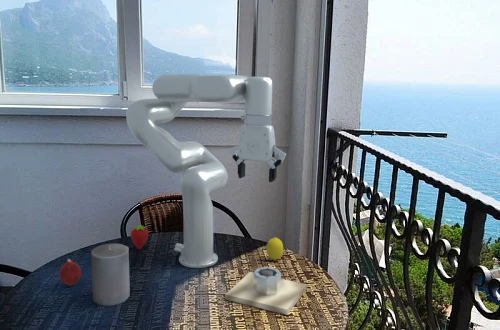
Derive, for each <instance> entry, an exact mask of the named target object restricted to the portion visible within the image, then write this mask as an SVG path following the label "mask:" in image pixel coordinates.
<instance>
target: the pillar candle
mask: <svg viewBox="0 0 500 330" xmlns="http://www.w3.org/2000/svg"><path fill="white" fill-rule="evenodd" d="M129 248H130V247H128V246H126V245H124V244H121V243H106V244H101V245H97V246H96V247H94V248H92V250H91V252H90V253H91V254H90V255H91V281H92V283H91V284H92V301H93V302H94V303H95V304H97V305H98V306H99V305H100V306H105V307H107V306H108V307H109V306H115V305H116V306H117V305H120V304H123V303H125V302H126V300H127V299H129V297H130V295H131V292H130V291H131V288H130V287H131V286H130V263H129V262H130V259H129V257H130V256H129V255H130V253H129V251H130V250H129Z"/></svg>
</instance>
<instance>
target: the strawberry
mask: <svg viewBox="0 0 500 330" xmlns="http://www.w3.org/2000/svg"><path fill="white" fill-rule="evenodd" d="M148 237H149V232H148V227H147V226H144V225H140V224H138V225H136V226H133V227H132V230H131V231H130V238H131V242H132V243H133V244H134V246H135V247H136V248H137V249H138V250H141V249H142V248H143V247H144V245H145V244H146V242H147V240H148Z"/></svg>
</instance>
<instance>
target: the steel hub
mask: <svg viewBox="0 0 500 330" xmlns="http://www.w3.org/2000/svg"><path fill="white" fill-rule="evenodd" d="M265 270H270V271H272V272H273V276H269V277H266V276H262V272H263V271H265ZM253 273H254V285H253V289H254V290H255V291H256V293H258V294H262V295H266V296H268V295H274V294H277V293H278V292H279V291H280V290H281V279H282V272H281V271H280V270H279V269H277V268H275V267H270V266H264V267H258V268H256V269H255V270H254V271H253Z"/></svg>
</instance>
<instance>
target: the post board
mask: <svg viewBox="0 0 500 330" xmlns="http://www.w3.org/2000/svg"><path fill="white" fill-rule="evenodd" d="M262 276H266V277H269V276H273V272H272V271H270V270H265V271H263V272H262ZM253 285H254V271H253V272H251V271H249V272H247V274H246V275H245V276H244V277H243V278H242V279H241V280H240V281H238V282H237V283H236V284H234V286H233V287H231V289H229V291H227V292H225V297H224V298H225V301H227V300H228V301H230V302H234V303H239V304H243V305H246V306H250V307H254V308H259V309H262V310H266V311H270V312H274V313H276V314H277V313H278V314H283V315H286V316H287V315H289V314H290V312H291V310H292V309H293V308H294V307H295V305H296V304H297V302H299V300H300V299H301V297H302V296H303V295H304V293H305V292H306V290H307V289H308V285H307V284H306V283H301V282H299V281H294V280H293V281H292V280H288V279H283V278H281V290H280V291H279V292H278V293H277V294H274V295H268V296H266V295H262V294H258V293H256V291H255V290H254V289H253Z"/></svg>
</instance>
